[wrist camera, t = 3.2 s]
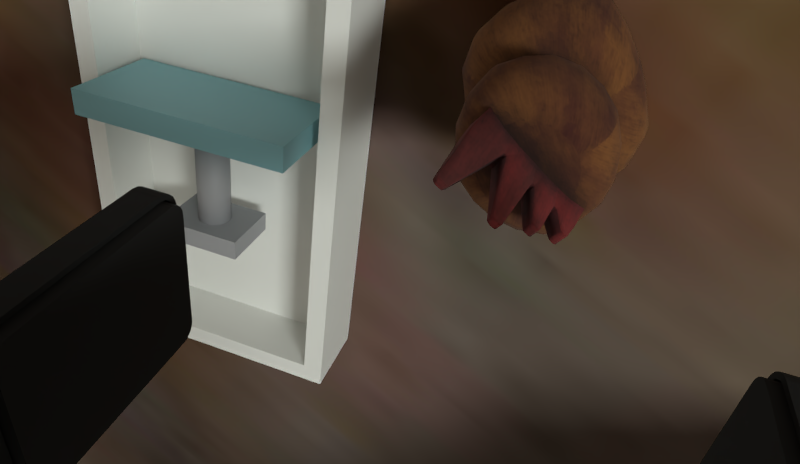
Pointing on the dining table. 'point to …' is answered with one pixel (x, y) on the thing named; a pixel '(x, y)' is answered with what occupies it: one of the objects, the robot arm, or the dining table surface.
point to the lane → (251, 185)
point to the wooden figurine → (547, 113)
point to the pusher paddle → (206, 137)
